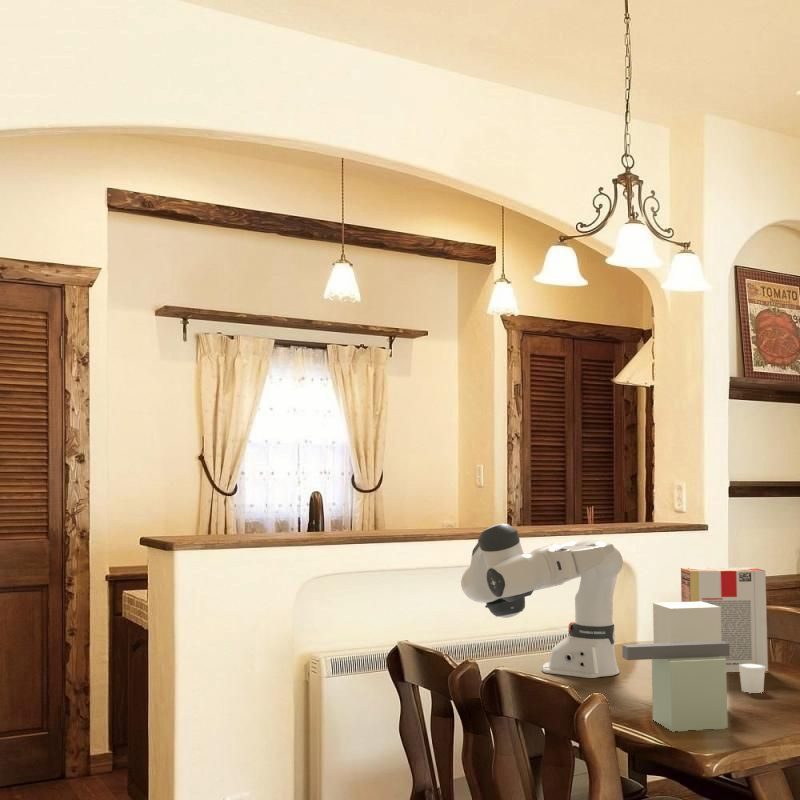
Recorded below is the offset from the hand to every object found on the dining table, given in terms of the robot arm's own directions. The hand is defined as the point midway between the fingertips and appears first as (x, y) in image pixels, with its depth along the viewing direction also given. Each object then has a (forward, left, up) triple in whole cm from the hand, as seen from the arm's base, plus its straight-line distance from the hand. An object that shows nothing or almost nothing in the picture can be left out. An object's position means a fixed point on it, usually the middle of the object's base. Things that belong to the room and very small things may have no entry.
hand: (603, 547), depth 232 cm
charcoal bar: (+16, +3, -26) cm, 31 cm away
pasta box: (+26, +71, -42) cm, 87 cm away
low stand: (+19, +5, -42) cm, 46 cm away
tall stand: (+18, +27, -42) cm, 53 cm away
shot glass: (+34, +45, -42) cm, 70 cm away
